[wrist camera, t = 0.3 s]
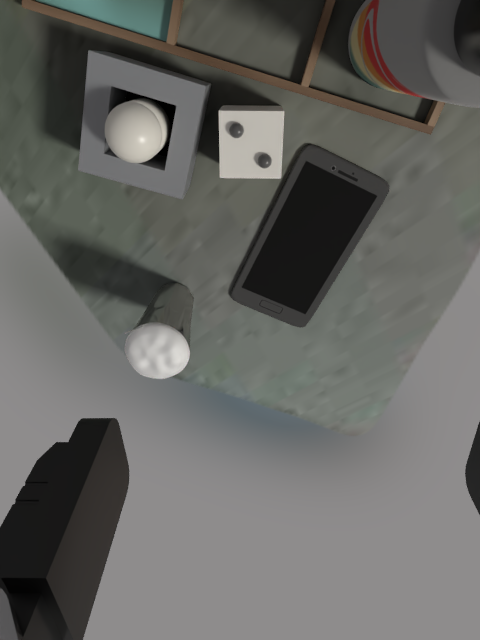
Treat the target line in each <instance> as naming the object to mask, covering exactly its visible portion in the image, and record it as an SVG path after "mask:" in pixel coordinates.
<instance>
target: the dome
mask: <svg viewBox="0 0 480 640" xmlns="http://www.w3.org/2000/svg"><path fill="white" fill-rule="evenodd" d="M170 131H171V127H170V121H169V118H168V116H167V114H166V112H165V111H164V109H163V108H162V107H161V106H160V105H159V104H157V103H156V102H154V101H152V100H150V99H146V98H138V99H134V100H131V101H128V102H125V103H122V104H119V105H118V106H116V107H115V108H114V109H112V111H111V112H110V113H109V115H108V117H107V119H106V122H105V137H106V141H107V143H108V145H109V147H110V149H111V150H112V151H113V153H114V154H115V155H117V156H118V157H119V158H121V159H122V160H124V161H127V162H130V163H142V162H146V161H148V160H150V159H151V158H153V157H154V156H155V155H156V154H157V153H158V152H159V151H160V150H161V149H162V148H163V147H164V146H165V145H166V144H167V142H168V140H169V137H170Z"/></svg>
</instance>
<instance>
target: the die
mask: <svg viewBox="0 0 480 640" xmlns="http://www.w3.org/2000/svg"><path fill="white" fill-rule="evenodd" d="M283 128H284V110H283V108H282V106H262V105H223V106H222V107H221V108H220V110H219V157H220V178H275V179H281V168H282V148H283Z"/></svg>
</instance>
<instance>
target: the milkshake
mask: <svg viewBox="0 0 480 640" xmlns="http://www.w3.org/2000/svg"><path fill="white" fill-rule="evenodd" d="M193 301H194V297H193V296H192V294H191V292H190V291H189V289H188V288H187V287H185V286H183V285H181V284H179V283H169V284H165V285H164V286H163V287H162V288H160V289H159V290H158V291H157V293H156V294H155V296H154V297H153V299H152V301H151V302H150V304H149V305H148V307H147V309H146V310H145V312H144V314H143V315H142V317H141V318H140V320H139V321H138V323H137V324H136V326H135V327H134V328H133V330H131V331H128V332H131V333H130V334H129V336H128V337H127V340H126V343H125V354H126V357H127V359H128V361H129V362H130V364H131V365H132V367H133V368H134V369H135V370H136V371H137V372H138V373H140V374H141V375H143V376H145V377H151V378H155V379H164V378H168V377H171V376H174V375H176V374H178V373H179V372H180V371H182V370H183V369H184V367H185V366H186V365H187V363H188V360H189V357H190V335H191V319H192V310H193ZM128 332H126V333H128ZM126 333H124V334H126Z"/></svg>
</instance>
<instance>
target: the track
mask: <svg viewBox="0 0 480 640" xmlns="http://www.w3.org/2000/svg"><path fill="white" fill-rule="evenodd" d="M36 1H38V2H36ZM39 2H41V3H39ZM183 2H184V0H22V7H23V8H26V9H30V10H33V11H36V12H39V13H42V14H46V15H49V16H52V17H55V18H58V19H62V20H65V21H68V22H71V23H74V24H78V25H81V26H84V27H87V28H90V29H94V30H97V31H100V32H103V33H106V34H110V35H113V36H116V37H119V38H123V39H126V40H129V41H132V42H135V43H139V44H142V45H145V46H148V47H151V48H155V49H158V50H161V51H164V52H167V53H171V54H174V55H177V56H180V57H183V58H187V59H190V60H193V61H196V62H200V63H203V64H206V65H209V66H212V67H216V68H219V69H222V70H225V71H228V72H232V73H235V74H238V75H241V76H244V77H248V78H251V79H254V80H257V81H260V82H264V83H267V84H270V85H273V86H277V87H280V88H283V89H286V90H289V91H293V92H296V93H299V94H302V95H305V96H309V97H312V98H315V99H318V100H321V101H325V102H328V103H331V104H334V105H337V106H341V107H344V108H347V109H350V110H354V111H357V112H360V113H363V114H366V115H370V116H373V117H376V118H379V119H382V120H386V121H389V122H392V123H395V124H398V125H402V126H405V127H408V128H411V129H414V130H418V131H421V132H424V133H427V134H430V135H431V133H432V131H433V129H434V127H435V124H436V122H437V120H438V118H439V116H440V113H441V111H442V109H443V107H444V105H445V102H441V101H436V100H434V101H433V104H432V106H431V108H430V110H429V113H428V115H427V117H426V119H425V122H424V123H421V122H418V121H414V120H411V119H408V118H405V117H402V116H398V115H395V114H392V113H389V112H386V111H382V110H379V109H376V108H373V107H370V106H367V105H363V104H360V103H357V102H354V101H351V100H347V99H344V98H341V97H338V96H335V95H332V94H328V93H325V92H322V91H319V90H316V89H312V88H309V84H310V81H311V77H312V74H313V71H314V68H315V65H316V61H317V58H318V55H319V52H320V49H321V45H322V42H323V39H324V36H325V32H326V29H327V26H328V23H329V20H330V16H331V13H332V10H333V7H334V4H335V0H326V1H325V4H324V7H323V10H322V14H321V17H320V20H319V24H318V27H317V30H316V34H315V37H314V40H313V44H312V47H311V50H310V54H309V57H308V60H307V64H306V67H305V70H304V73H303V77H302V80H301V83H300V84H297V83H293V82H290V81H287V80H284V79H281V78H277V77H274V76H271V75H268V74H265V73H261V72H258V71H255V70H252V69H249V68H246V67H242V66H239V65H236V64H233V63H230V62H226V61H223V60H220V59H217V58H214V57H211V56H207V55H204V54H201V53H198V52H195V51H191V50H188V49H185V48H182V47H179V46H176V43H177V37H178V31H179V25H180V19H181V13H182V7H183ZM42 3H45V4H48V5H51V6H54V7H51V6H48V5H45V4H42ZM55 7H57V8H55ZM58 8H61V9H64V10H67V11H70V12H73V13H70V12H67V11H64V10H61V9H58ZM74 13H76V14H74ZM77 14H80V15H83V16H86V17H89V18H86V17H83V16H80V15H77ZM90 18H92V19H90ZM93 19H96V20H99V21H102V22H105V23H108V24H105V23H102V22H99V21H96V20H93ZM109 24H111V25H109ZM112 25H115V26H118V27H121V28H124V29H121V28H118V27H115V26H112ZM125 29H127V30H125ZM128 30H131V31H134V32H137V33H140V34H143V35H140V34H137V33H134V32H131V31H128ZM144 35H146V36H144ZM147 36H150V37H153V38H156V39H159V40H156V39H153V38H150V37H147ZM160 40H162V41H160ZM163 41H166V42H163Z"/></svg>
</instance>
